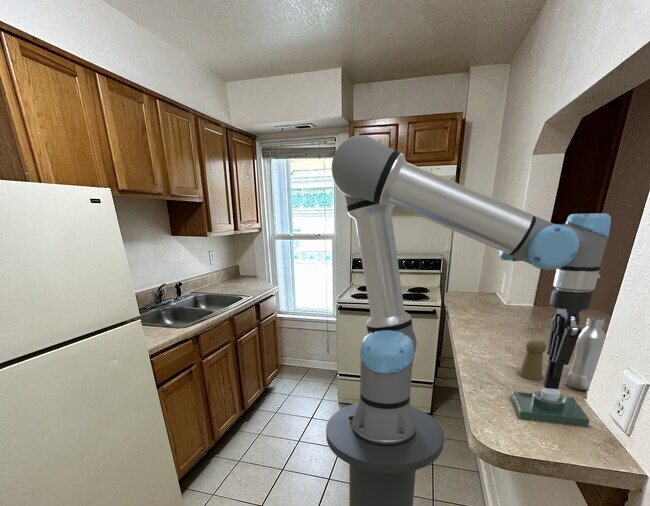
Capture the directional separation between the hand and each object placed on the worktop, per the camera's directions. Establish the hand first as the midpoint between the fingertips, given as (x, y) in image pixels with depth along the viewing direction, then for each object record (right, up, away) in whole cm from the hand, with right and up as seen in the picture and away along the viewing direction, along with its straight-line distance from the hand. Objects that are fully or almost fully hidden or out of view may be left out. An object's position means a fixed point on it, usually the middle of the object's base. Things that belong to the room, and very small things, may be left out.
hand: (550, 387), depth 85 cm
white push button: (0, -3, +1) cm, 3 cm away
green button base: (0, -6, +2) cm, 7 cm away
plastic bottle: (+17, -2, +14) cm, 22 cm away
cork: (+8, +1, +23) cm, 24 cm away
